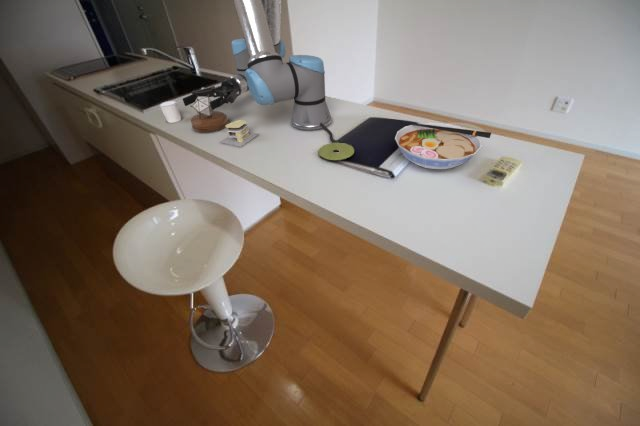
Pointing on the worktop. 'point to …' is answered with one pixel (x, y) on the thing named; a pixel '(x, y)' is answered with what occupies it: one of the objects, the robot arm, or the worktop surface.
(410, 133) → the ramen bowl
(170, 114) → the white cup
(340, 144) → the green disc with hole
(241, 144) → the stacked layers on plate
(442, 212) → the worktop surface
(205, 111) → the grey faceted polyhedron
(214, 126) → the brown round disc
